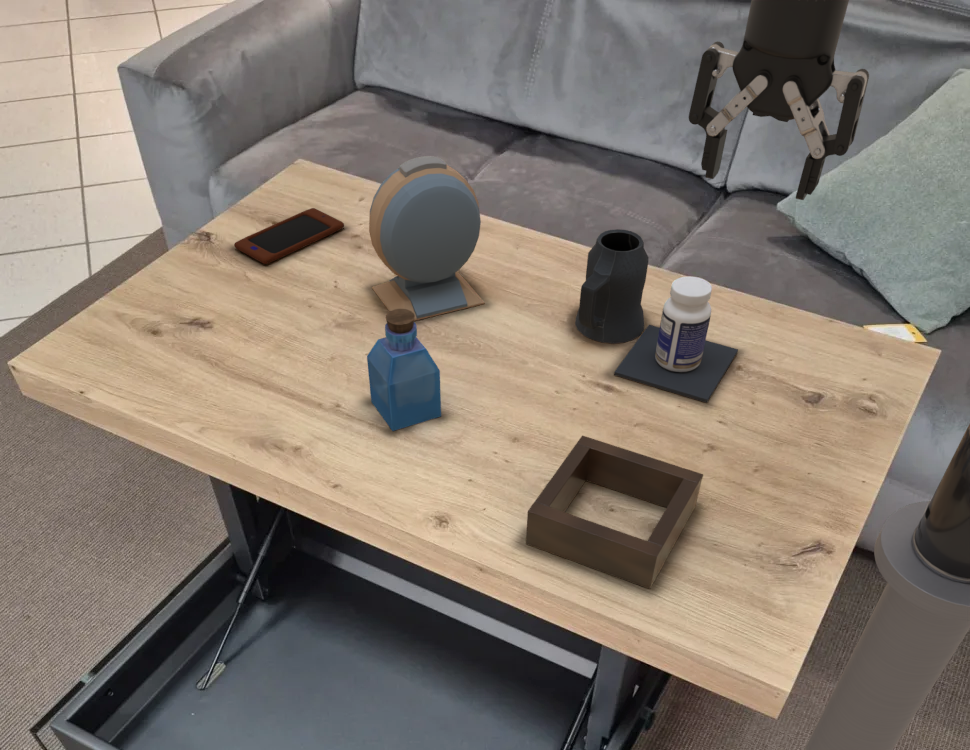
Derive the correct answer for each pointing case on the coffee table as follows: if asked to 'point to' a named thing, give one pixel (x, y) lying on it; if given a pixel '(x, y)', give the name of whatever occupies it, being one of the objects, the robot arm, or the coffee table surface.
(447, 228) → the alarm clock
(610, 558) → the walnut box
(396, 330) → the perfume bottle
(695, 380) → the rubber mat
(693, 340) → the pill bottle
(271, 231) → the smartphone
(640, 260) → the black vase
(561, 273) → the coffee table surface
